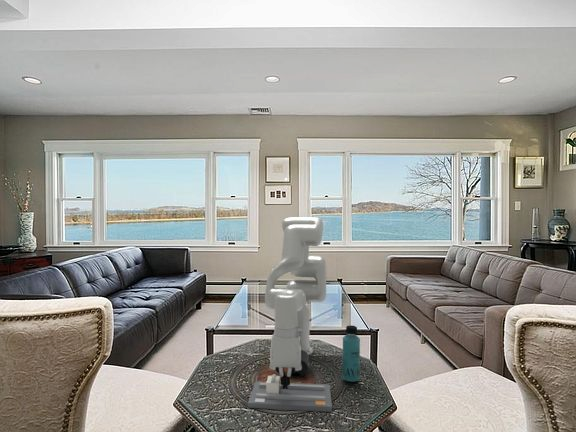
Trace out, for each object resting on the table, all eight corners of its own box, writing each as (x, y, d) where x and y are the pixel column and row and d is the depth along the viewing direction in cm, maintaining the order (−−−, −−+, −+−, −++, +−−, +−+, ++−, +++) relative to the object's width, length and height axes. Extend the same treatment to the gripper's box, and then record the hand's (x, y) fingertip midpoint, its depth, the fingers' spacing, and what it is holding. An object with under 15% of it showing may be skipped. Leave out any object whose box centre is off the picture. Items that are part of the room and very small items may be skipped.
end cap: (308, 378, 127) (308, 360, 127) (288, 377, 128) (289, 359, 128) (308, 367, 137) (308, 350, 137) (290, 366, 138) (290, 349, 138)
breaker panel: (255, 385, 122) (255, 378, 122) (329, 388, 120) (329, 381, 120) (248, 407, 108) (248, 399, 108) (331, 411, 106) (332, 403, 106)
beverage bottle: (337, 380, 126) (338, 326, 126) (349, 375, 130) (350, 322, 130) (352, 387, 121) (352, 330, 121) (363, 382, 125) (364, 326, 125)
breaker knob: (268, 387, 117) (268, 373, 117) (279, 388, 117) (280, 374, 117) (266, 395, 112) (266, 380, 112) (278, 395, 112) (278, 381, 112)
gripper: (308, 328, 117) (308, 382, 117) (264, 327, 118) (264, 380, 118) (308, 336, 110) (308, 393, 110) (261, 334, 111) (261, 391, 111)
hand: (285, 386), depth 114 cm, fingers closed
